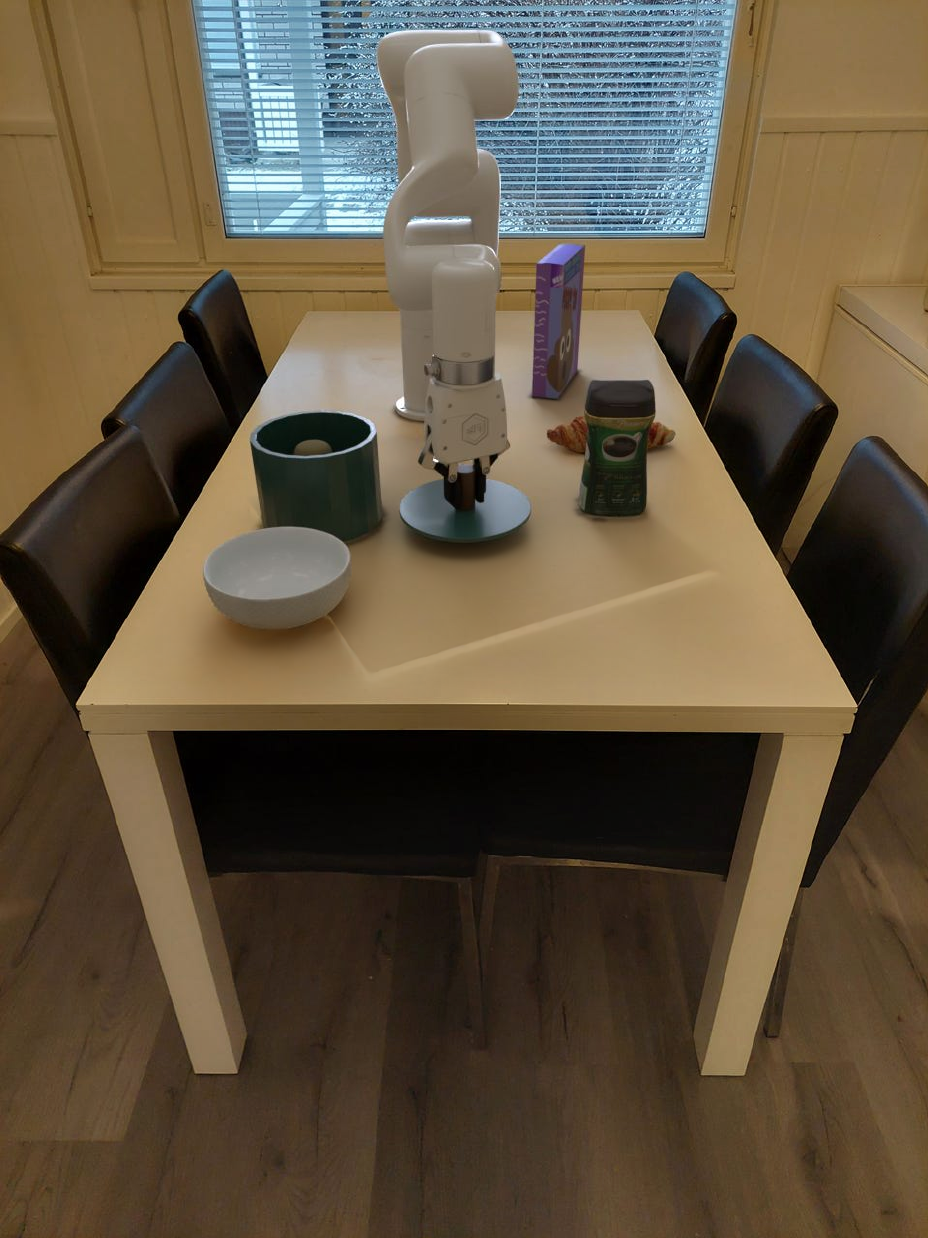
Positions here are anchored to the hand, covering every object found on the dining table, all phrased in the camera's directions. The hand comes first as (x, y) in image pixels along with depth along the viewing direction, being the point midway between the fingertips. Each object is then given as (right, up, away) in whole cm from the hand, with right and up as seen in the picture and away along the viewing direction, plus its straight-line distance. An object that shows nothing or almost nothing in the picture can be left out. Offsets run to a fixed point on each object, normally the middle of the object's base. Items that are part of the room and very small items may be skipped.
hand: (465, 500), depth 119 cm
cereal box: (+18, +30, +53) cm, 63 cm away
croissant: (+24, +12, +26) cm, 38 cm away
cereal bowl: (-22, -15, -13) cm, 30 cm away
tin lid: (0, -1, +1) cm, 1 cm away
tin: (-20, -2, +6) cm, 21 cm away
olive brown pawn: (-21, -2, +6) cm, 21 cm away
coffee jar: (+21, 0, +8) cm, 23 cm away
